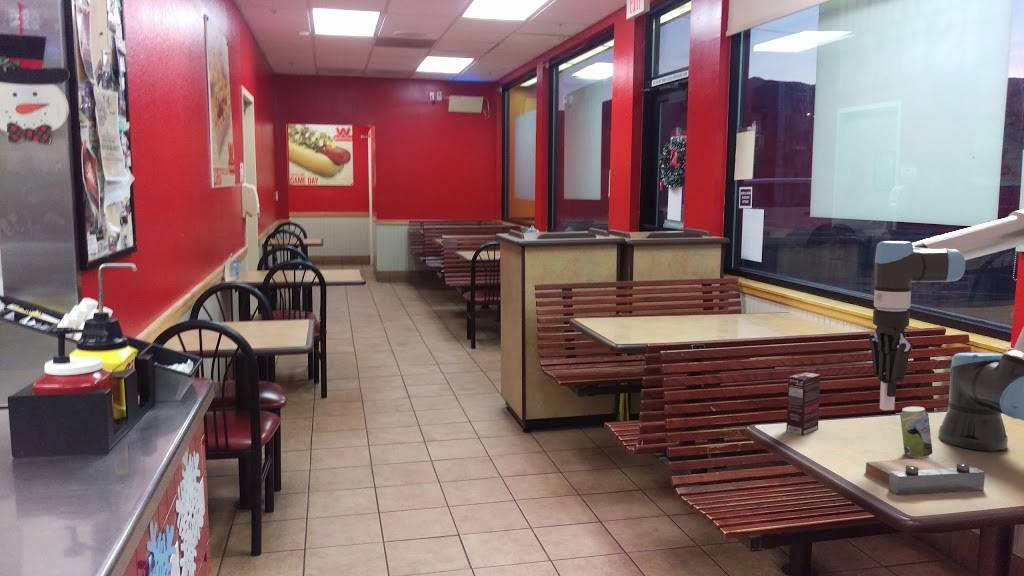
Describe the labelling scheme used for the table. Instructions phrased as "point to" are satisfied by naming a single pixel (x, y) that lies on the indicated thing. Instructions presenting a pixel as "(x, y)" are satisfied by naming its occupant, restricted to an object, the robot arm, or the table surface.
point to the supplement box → (803, 403)
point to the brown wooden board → (899, 467)
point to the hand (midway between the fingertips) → (886, 409)
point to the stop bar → (936, 480)
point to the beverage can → (916, 432)
